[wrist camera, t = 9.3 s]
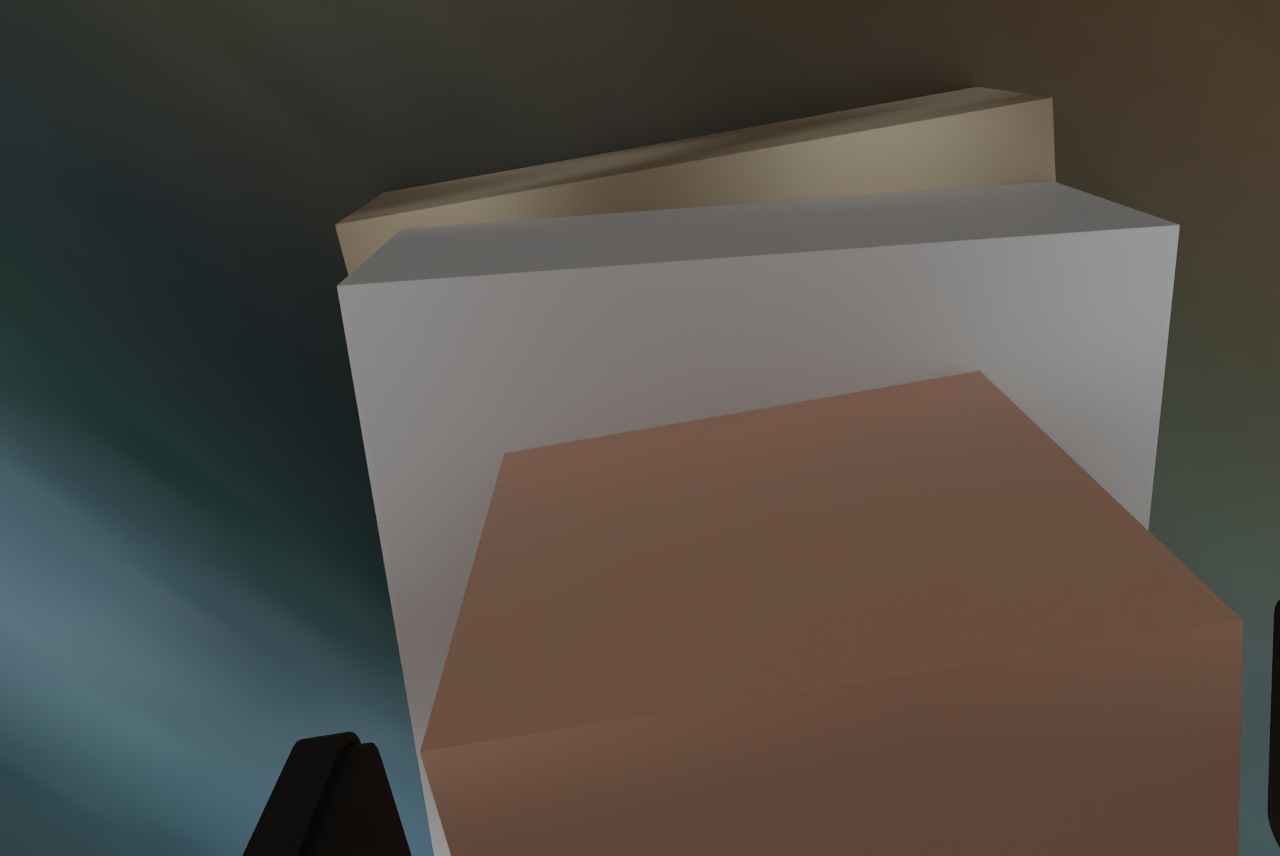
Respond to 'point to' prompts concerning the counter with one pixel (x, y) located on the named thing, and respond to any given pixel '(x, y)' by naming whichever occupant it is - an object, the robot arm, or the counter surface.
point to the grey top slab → (732, 346)
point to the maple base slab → (748, 167)
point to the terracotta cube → (832, 647)
